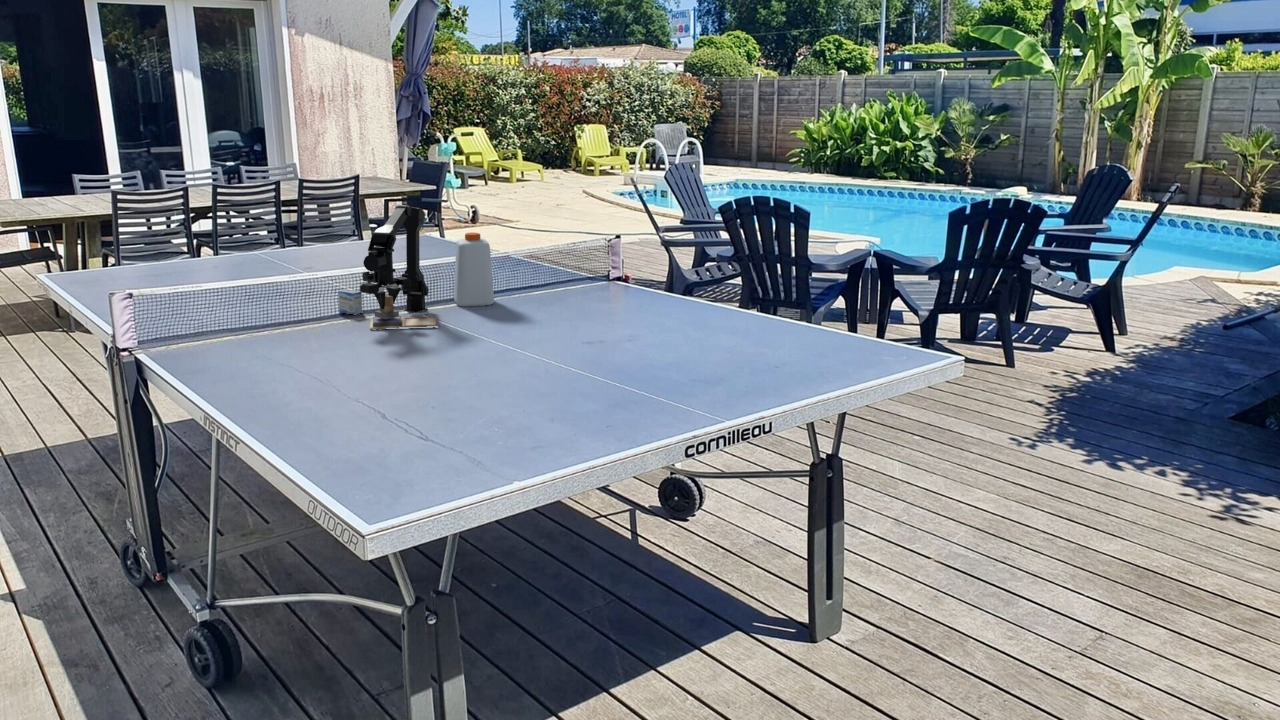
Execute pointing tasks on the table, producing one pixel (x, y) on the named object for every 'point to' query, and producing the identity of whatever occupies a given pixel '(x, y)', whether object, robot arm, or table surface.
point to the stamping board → (402, 322)
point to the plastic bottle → (473, 272)
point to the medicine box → (350, 301)
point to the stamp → (387, 309)
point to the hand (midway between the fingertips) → (386, 308)
